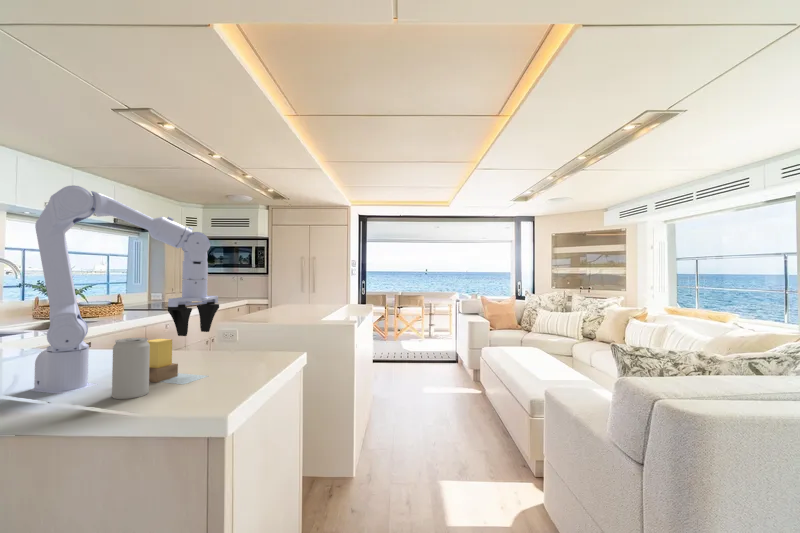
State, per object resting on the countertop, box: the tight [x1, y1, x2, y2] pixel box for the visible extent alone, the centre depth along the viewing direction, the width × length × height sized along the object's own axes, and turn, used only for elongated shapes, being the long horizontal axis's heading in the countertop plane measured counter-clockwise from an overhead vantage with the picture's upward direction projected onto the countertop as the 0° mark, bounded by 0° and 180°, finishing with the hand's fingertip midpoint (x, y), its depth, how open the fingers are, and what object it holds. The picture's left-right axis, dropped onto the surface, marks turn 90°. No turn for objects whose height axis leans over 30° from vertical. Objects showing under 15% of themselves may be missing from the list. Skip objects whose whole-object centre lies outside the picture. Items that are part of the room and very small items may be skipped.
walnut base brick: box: [149, 362, 179, 383], centre depth 98 cm, size 6×6×3 cm
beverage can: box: [111, 337, 150, 400], centre depth 85 cm, size 6×6×12 cm
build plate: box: [159, 372, 209, 385], centre depth 98 cm, size 12×8×1 cm, turn 74°
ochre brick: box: [147, 338, 173, 368], centre depth 98 cm, size 4×4×6 cm
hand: (194, 333), depth 104 cm, fingers open, 7 cm apart
